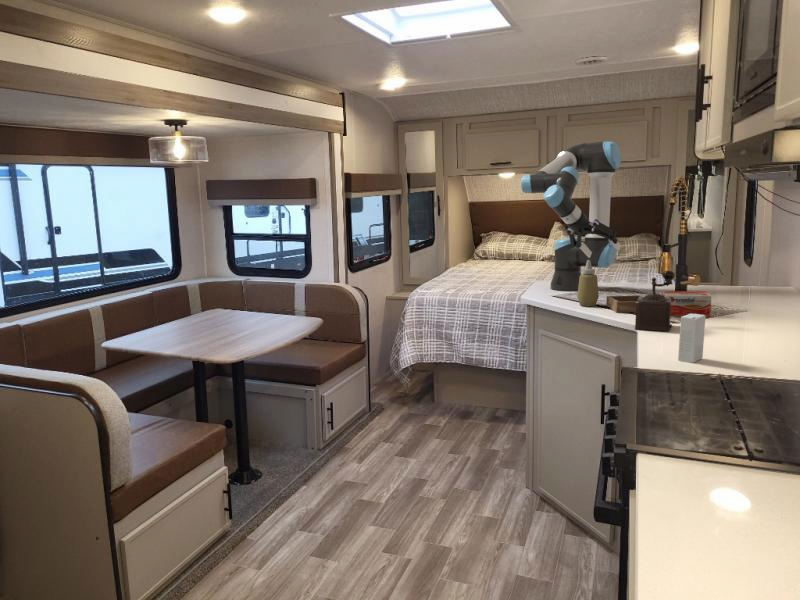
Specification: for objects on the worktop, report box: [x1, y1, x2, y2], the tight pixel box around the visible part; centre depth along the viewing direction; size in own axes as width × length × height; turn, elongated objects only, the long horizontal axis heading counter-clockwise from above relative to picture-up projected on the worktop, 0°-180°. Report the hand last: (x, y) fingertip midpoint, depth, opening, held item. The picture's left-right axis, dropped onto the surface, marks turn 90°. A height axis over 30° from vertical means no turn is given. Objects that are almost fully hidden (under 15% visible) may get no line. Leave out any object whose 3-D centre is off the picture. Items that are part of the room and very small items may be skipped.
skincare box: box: [677, 314, 706, 364], centre depth 165 cm, size 6×4×12 cm
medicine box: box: [661, 290, 712, 318], centre depth 222 cm, size 15×8×8 cm, turn 76°
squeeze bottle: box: [576, 260, 600, 308], centre depth 242 cm, size 8×8×18 cm
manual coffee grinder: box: [634, 270, 676, 333], centre depth 204 cm, size 16×11×18 cm
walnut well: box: [605, 294, 644, 314], centre depth 234 cm, size 13×13×4 cm
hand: (604, 251), depth 249 cm, fingers open, 13 cm apart
